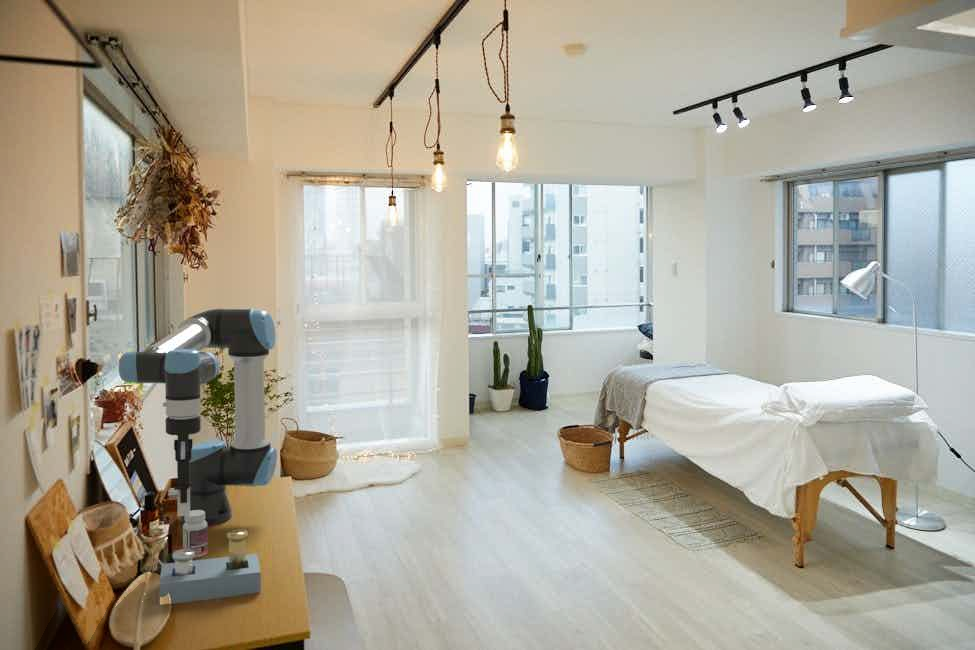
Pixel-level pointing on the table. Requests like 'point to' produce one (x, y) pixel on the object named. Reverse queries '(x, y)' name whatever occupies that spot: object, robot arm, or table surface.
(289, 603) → the table surface
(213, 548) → the table surface
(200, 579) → the socket block
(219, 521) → the robot arm
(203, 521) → the pill bottle
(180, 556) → the small lidded jar
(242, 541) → the glass jar
